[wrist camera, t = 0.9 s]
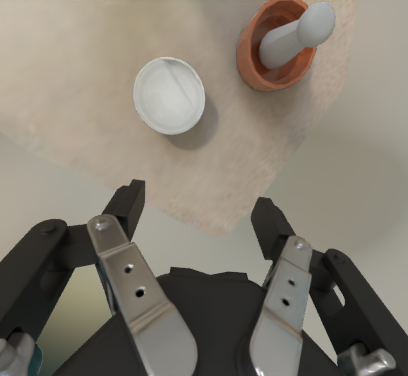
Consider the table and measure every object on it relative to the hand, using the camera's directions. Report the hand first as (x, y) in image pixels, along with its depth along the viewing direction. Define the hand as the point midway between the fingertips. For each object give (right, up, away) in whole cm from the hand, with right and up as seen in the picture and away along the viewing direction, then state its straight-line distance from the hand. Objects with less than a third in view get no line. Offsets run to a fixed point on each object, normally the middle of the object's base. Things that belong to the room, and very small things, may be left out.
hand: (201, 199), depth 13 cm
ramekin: (-6, +17, +21) cm, 28 cm away
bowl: (+12, +25, +21) cm, 35 cm away
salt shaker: (+12, +25, +21) cm, 35 cm away
